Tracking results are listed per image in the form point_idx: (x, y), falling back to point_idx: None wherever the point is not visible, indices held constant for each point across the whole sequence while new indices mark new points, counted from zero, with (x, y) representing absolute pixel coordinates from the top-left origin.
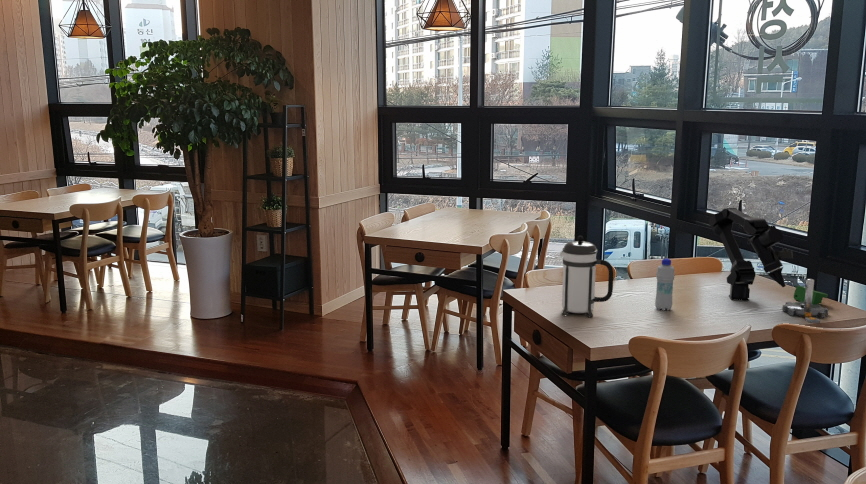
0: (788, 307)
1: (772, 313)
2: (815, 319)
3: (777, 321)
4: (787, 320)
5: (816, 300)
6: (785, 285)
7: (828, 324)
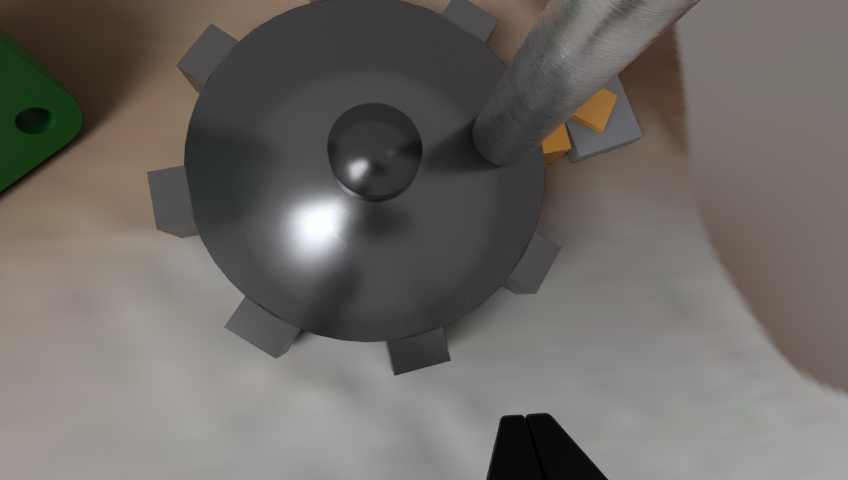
0: (470, 305)
1: None
2: None
3: (738, 351)
4: (667, 284)
5: (30, 58)
6: (549, 418)
7: None
